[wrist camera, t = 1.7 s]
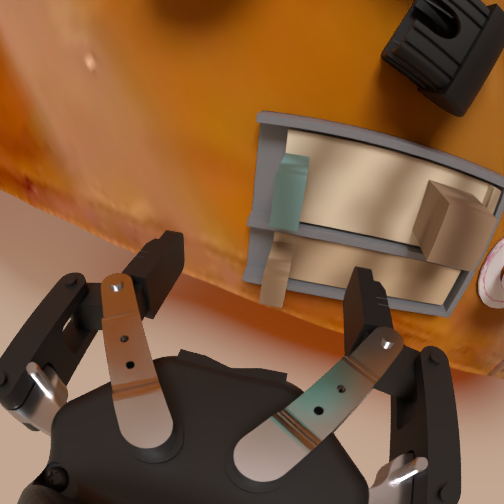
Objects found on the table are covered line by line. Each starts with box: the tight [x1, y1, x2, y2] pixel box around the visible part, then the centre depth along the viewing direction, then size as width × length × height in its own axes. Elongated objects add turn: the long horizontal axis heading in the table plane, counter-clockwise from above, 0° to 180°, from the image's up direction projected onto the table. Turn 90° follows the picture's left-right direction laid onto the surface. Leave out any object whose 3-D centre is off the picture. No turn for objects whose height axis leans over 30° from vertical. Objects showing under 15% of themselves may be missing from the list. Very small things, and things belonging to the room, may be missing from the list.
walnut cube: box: [412, 180, 497, 272], centre depth 20 cm, size 5×5×5 cm
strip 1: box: [269, 128, 501, 247], centre depth 21 cm, size 20×8×6 cm, turn 85°
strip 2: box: [259, 231, 461, 308], centre depth 26 cm, size 20×5×6 cm, turn 85°
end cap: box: [381, 0, 504, 117], centre depth 13 cm, size 10×7×7 cm
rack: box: [242, 111, 504, 318], centre depth 25 cm, size 24×17×2 cm
